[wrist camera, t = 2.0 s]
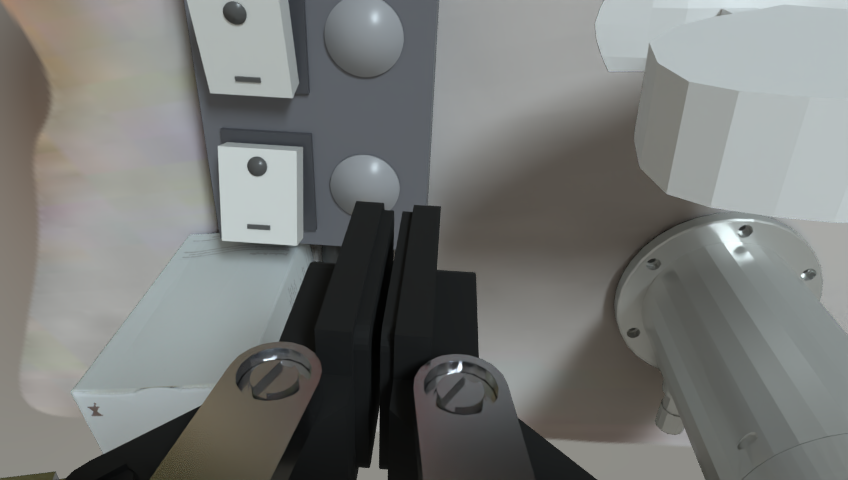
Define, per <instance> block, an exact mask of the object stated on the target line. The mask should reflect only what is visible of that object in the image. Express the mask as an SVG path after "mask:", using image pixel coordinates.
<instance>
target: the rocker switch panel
mask: <svg viewBox="0 0 848 480" xmlns="http://www.w3.org/2000/svg"><path fill="white" fill-rule="evenodd" d="M288 3H289V10H290V18H291V25H292V33H293V41H294V48H295V56H296V64H297V71H298V79H299V84H298V87H297V89H296V92H295V94H294V97H293V98H279V97H263V96H247V95H231V94H215V93H210V90H209V86H208V82H207V78H206V75H205V71H204V67H203V63H202V59H201V55H200V51H199V47H198V43H197V39H196V35H195V31H194V27H193V23H192V19H191V15H190V11H189V7H188V3H187V0H184V4H185V11H186V17H187V24H188V31H189V37H190V44H191V50H192V57H193V63H194V70H195V77H196V83H197V90H198V96H199V103H200V109H201V116H202V123H203V129H204V136H205V142H206V149H207V155H208V162H209V169H210V175H211V182H212V188H213V195H214V201H215V208H216V215H217V221H218V228H219V234H220V238H222V232H221V209H220V187H219V164H218V146H219V145H222V144H224V143H227V142H233V143H249V144H264V145H280V146H296V147H303V239H302V240H301V241H300V243H302V244H316V245H322V257H323V262H327V263H336V261H337V258H338V255H339V252H340V249H341V246H342V243H343V240H344V237H345V234H346V231H347V228H348V225H349V221H350V218H351V215H352V212H353V209H354V206H355V203H356V201H364V202H379V203H384V207H385V210H393V211H394V250H396V245H397V240H398V234H399V228H400V223H401V217H402V212H403V211H408V212H413V207H414V205H425V206H428V191H429V173H430V155H431V136H432V118H433V100H434V82H435V63H436V45H437V27H438V9H439V0H288Z"/></svg>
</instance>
